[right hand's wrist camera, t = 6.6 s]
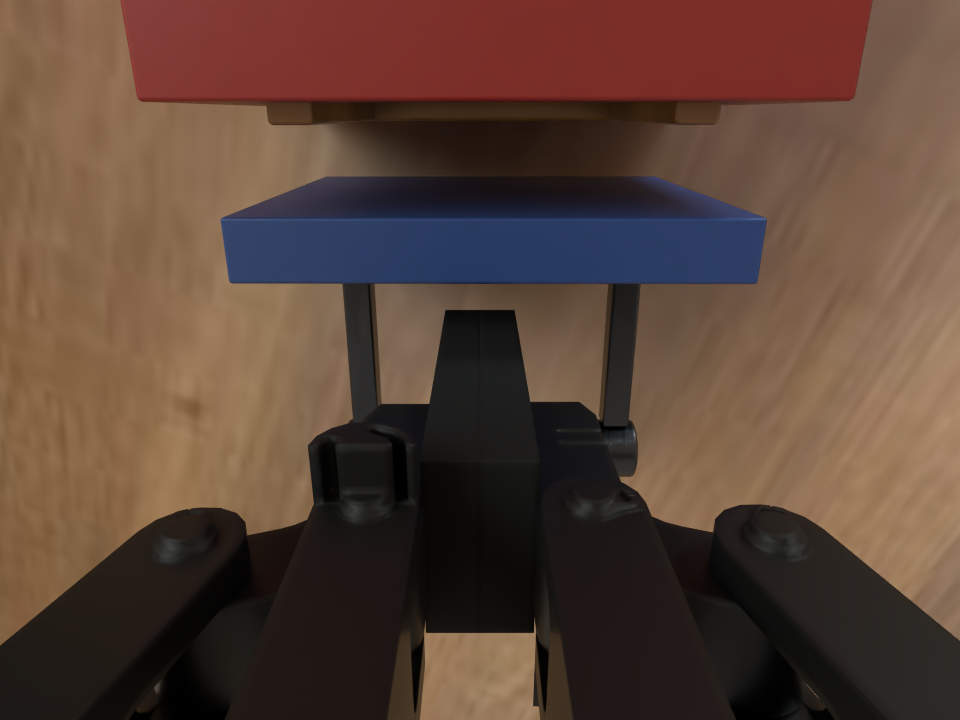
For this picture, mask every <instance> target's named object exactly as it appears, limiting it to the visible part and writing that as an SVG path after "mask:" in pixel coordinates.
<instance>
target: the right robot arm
mask: <svg viewBox="0 0 960 720" xmlns="http://www.w3.org/2000/svg"><path fill="white" fill-rule="evenodd" d="M308 452H309V461H310V470H311V480H312V489H313V498H314V505H313V507H312V510H311V512H310V515H309V517H308V520H306V521H303V522H301V523H298V524H296V525H293V526H289V527H285V528H282V529H277V530H272V531H267V532H262V533H257V534H252V535H247V530H246V524H245V521H244V520H243V519H242V518H241V517H240V516H239V515H238V514H237V513H235V512H231V511H228V510H225V509H222V508H191V509H190V510H188V509H186V510H182V511H178V512H175V513H173V514H171V515H168V516H165V517H163V518H160V519H157V520H155V521H154V522H152V523H151V524H149V525H148V526H146V527H144V528H143V529H141V530H140V531H138V532H137V533H136V534H134V535H133V536H132V537H131V538H130V539H128V540H127V541H126V542H125V543H124V544H122V545H121V546H120V547H119V548H118V549H116V550H115V551H114V552H113V553H112V554H110V555H109V556H108V557H107V558H106V559H104V560H103V561H102V562H101V563H99V564H98V565H97V566H96V567H95V568H93V569H92V570H91V571H90V572H89V573H87V574H86V575H85V576H84V577H83V578H81V579H80V580H79V581H78V582H77V583H75V584H74V585H73V586H72V587H71V588H69V589H68V590H67V591H66V592H65V593H63V594H62V595H61V596H60V597H58V598H57V599H56V600H55V601H54V602H52V603H51V604H50V605H49V606H48V607H46V608H45V609H44V610H43V611H42V612H40V613H39V614H38V615H37V616H36V617H34V618H33V619H32V620H31V621H30V622H28V623H27V624H26V625H25V626H23V627H22V628H21V629H20V630H19V631H17V632H16V633H15V634H14V635H13V636H11V637H10V638H9V639H8V640H7V641H5V642H4V643H3V644H2V645H1V646H0V720H420V712H421V701H422V691H423V680H424V670H425V649H424V628H425V619H426V633H534V617H535V625H536V649H535V674H534V699H533V706H539V711H540V720H960V641H959V640H958V639H957V638H955V637H954V636H953V635H952V634H951V633H949V632H948V631H947V630H946V629H944V628H943V627H942V626H941V625H940V624H938V623H937V622H936V621H935V620H934V619H932V618H931V617H930V616H929V615H927V614H926V613H925V612H924V611H923V610H921V609H920V608H919V607H918V606H916V605H915V604H914V603H913V602H912V601H910V600H909V599H908V598H907V597H906V596H904V595H903V594H902V593H901V592H899V591H898V590H897V589H896V588H895V587H893V586H892V585H891V584H890V583H888V582H887V581H886V580H885V579H884V578H882V577H881V576H880V575H879V574H878V573H876V572H875V571H874V570H873V569H871V568H870V567H869V566H868V565H867V564H865V563H864V562H863V561H862V560H860V559H859V558H858V557H857V556H856V555H854V554H853V553H852V552H851V551H850V550H848V549H847V548H846V547H845V546H843V545H842V544H841V543H840V542H839V541H837V540H836V539H835V538H834V537H832V536H831V535H830V534H829V533H828V532H826V531H825V530H824V529H823V528H821V527H820V526H818V525H816V524H815V523H813V522H812V521H810V520H808V519H807V518H805V517H803V516H801V515H798V514H795V513H793V512H790V511H787V510H786V509H783V508H779V507H775V506H772V507H771V506H770V505H738V506H735V507H732V508H729V509H726V510H724V511H723V512H722V513H721V514H720V515H719V516H718V517H717V518H716V519H715V524H714V530H713V533H712V532H707V531H702V530H697V529H692V528H687V527H682V526H678V525H674V524H670V523H667V522H664V521H661V520H659V519H657V518H654V517H652V516H651V514H650V511H649V509H648V507H647V504H646V502H645V501H644V500H643V498H642V497H641V496H640V494H639V493H638V492H637V491H635V490H634V489H632V488H630V487H629V486H627V485H626V484H624V483H622V482H621V481H620V478H619V475H618V473H617V470H616V468H615V465H614V462H613V460H612V457H611V454H610V452H609V449H608V446H607V445H606V441H605V438H604V436H603V433H601V428H600V425H599V423H598V420H597V417H596V415H595V414H594V413H593V412H591V411H590V410H589V409H588V408H586V407H585V406H584V405H582V404H581V403H580V402H530V398H529V392H528V387H527V381H526V375H525V369H524V363H523V357H522V352H521V346H520V340H519V334H518V328H517V322H516V316H515V311H514V310H446V311H445V316H444V322H443V328H442V334H441V340H440V346H439V351H438V357H437V363H436V369H435V375H434V381H433V387H432V392H431V398H430V404H380V405H379V406H378V407H377V408H375V409H374V410H373V411H372V412H370V413H369V414H368V415H366V416H365V417H364V420H363V422H357V423H349V424H345V425H342V426H338V427H334V428H331V429H329V430H327V431H325V432H323V433H322V434H320V435H318V436H316V437H315V438H314V440H313V441H312V442H311V443H310V444H309V445H308ZM807 685H808V686H809V687H810V688H811V689H810V688H809V687H808V686H807ZM811 690H812V691H813V692H814V693H815V694H816V695H817V696H816V695H815V694H814V693H813V692H812V691H811Z"/></svg>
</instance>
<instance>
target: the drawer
mask: <svg viewBox="0 0 960 720" xmlns="http://www.w3.org/2000/svg"><path fill="white" fill-rule="evenodd" d="M266 107H267V116H268V121H269V123H270V124H272V125H319V124H334V123H349V122H365V121H622V122H639V123H656V124H674V125H714V124H716V123H718V121H719V119H720V110H721V102H319V103H266ZM766 222H767V220H766V218H764V217H761V216H759V215H756V214H753V213H751V212H748V211H745V210H743V209H740V208H737V207H735V206H732V205H729V204H727V203H724V202H721V201H719V200H716V199H713V198H710V197H708V196H705V195H702V194H700V193H697V192H694V191H692V190H689V189H686V188H684V187H681V186H678V185H676V184H673V183H670V182H668V181H665V180H662V179H659V178H657V177H324V178H322V179H319V180H316V181H314V182H311V183H309V184H306V185H304V186H301V187H299V188H296V189H294V190H291V191H289V192H286V193H284V194H281V195H279V196H276V197H274V198H271V199H268V200H266V201H263V202H261V203H258V204H256V205H253V206H251V207H248V208H246V209H243V210H241V211H238V212H236V213H233V214H231V215H228V216H226V217H223V218H221V226H222V233H223V240H224V247H225V254H226V261H227V269H228V276H229V281H230V283H319V284H343V295H344V308H345V321H346V334H347V347H348V360H349V373H350V386H351V399H352V411H353V419H352V420H350V421H349V423H357V422H363V420H364V417H365V416H366V415H368V414H369V413H370V412H372V411H373V410H374V409H375V408H377V407H378V406H379V405H380V404H382V402H381V386H380V369H379V352H378V336H377V319H376V302H375V285H374V284H608V297H607V311H606V325H605V339H604V354H603V368H602V382H601V396H600V410H599V417H600V419H601V420H598V423H599V425H600V428H601V433H603V436H604V438H605V441H606V445H607V446H608V449H609V452H610V454H611V457H612V460H613V462H614V465H615V468H616V470H617V473H618V475H619V477H631V476H633V475H634V473H635V470H636V467H637V460H638V443H637V435H636V430H635V427H634V424H633V422H632V421H630V420H629V409H630V398H631V387H632V375H633V364H634V353H635V341H636V330H637V319H638V308H639V296H640V285H641V284H755V283H757V281H758V275H759V268H760V262H761V255H762V249H763V242H764V235H765V229H766ZM349 423H348V424H349Z"/></svg>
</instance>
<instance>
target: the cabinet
mask: <svg viewBox="0 0 960 720" xmlns="http://www.w3.org/2000/svg"><path fill="white" fill-rule="evenodd" d="M872 1H873V0H121V6H122V12H123V18H124V23H125V29H126V35H127V41H128V46H129V52H130V58H131V64H132V70H133V75H134V81H135V87H136V93H137V97H138V99H139V100H140V101H142V102H165V103H195V104H224V105H252V106H266V103H319V102H721V105H747V104H775V103H804V102H833V101H850V100H852V99H853V98H854V96H855V91H856V86H857V81H858V76H859V70H860V65H861V60H862V54H863V49H864V44H865V38H866V33H867V28H868V22H869V17H870V12H871V6H872Z"/></svg>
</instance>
